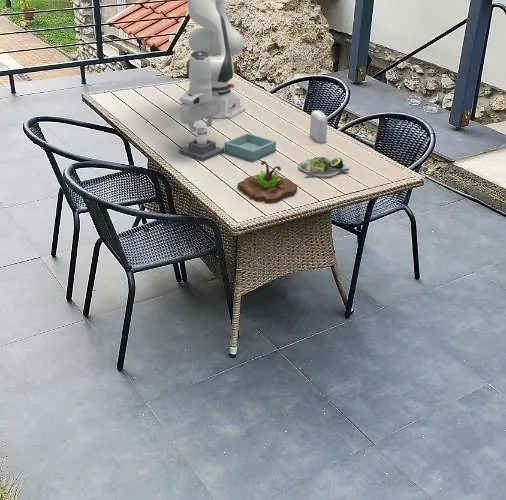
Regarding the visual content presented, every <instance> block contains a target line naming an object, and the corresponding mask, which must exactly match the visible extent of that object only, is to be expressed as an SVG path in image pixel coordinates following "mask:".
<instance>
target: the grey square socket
mask: <svg viewBox="0 0 506 500" xmlns="http://www.w3.org/2000/svg"><path fill="white" fill-rule="evenodd" d="M216 144H217V142H216V141H213V140H211V139H207V144H206V145H203V146H201V145H198V144H197V138H196V139H194V140H192V141H191V140H190V141H189V142H187V146H185V147H183V148H180V149H179V154H180V155H184V156H187V157H189V158H192V159H195V160H198V161H201V162H205V161H207V160H209V159H212V158H214V157H216V156H219V155H221V154H223V153H224V154H225V148H223V147H220V146H217V145H216Z"/></svg>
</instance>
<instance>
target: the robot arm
mask: <svg viewBox="0 0 506 500" xmlns="http://www.w3.org/2000/svg"><path fill="white" fill-rule="evenodd" d="M187 10H188V16H189V18H190V19H191V20H192V22H193V23H195V24H196V25H198V26H199V27H197V28H194V29H192V30H191V31H190V33H189V35H188V45H189V46H190V49H191V50H192V51H193V52H192V53H190V56H189V59H188V60H187V62H186V63H185V64H186V76H187V78H188V79H189V86H188V90H187V91H186V92H185V93H183V95H181V96H180V97H179V101H180V106H179V120H180V121H181V123H183V124H187V125H188V127H189V131H190V133H195V132H197V128H196V127H195V126H194V125H195V122H197V121H200V120H203V119H206V118H207V121H206V122H205V125H206V127H207V128H208V127H211V126H212V125H213V123H212V122H213V120H214V119H232V118H234V117H236V116H238V115H239V114H241V113H242V112H245V110H246V107H244V105H241V100H240V97H239V96H238V95H236V93H234V92H232V90H231V89H235V83H229V81H230V80H232V78H234V74H235V67H234V62H233V59H232V56H238V55H240V54H241V52H242V51H243V49H244V46H245V41H244V38H243V35H242V34H241V33H240V32H239V31H238V30H236V28H234V26H233V25H232V23H231V22H230V20H229V17H228V16H227V9H226V1H225V0H187Z"/></svg>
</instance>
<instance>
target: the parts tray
mask: <svg viewBox="0 0 506 500" xmlns="http://www.w3.org/2000/svg"><path fill="white" fill-rule="evenodd" d="M276 146H277V141H275V140H273V139H269V138H265V137H262V136H259V135H255V134H253V133H249V132H247V133H245V134H242V135H239V136H237V137H235V138H232V139H229V140H228V141H225V142H224V154H227V155H228V156H229V155H230V156H233V157H236V158H239V159H242V160H246V161H247V162H251V163H254V162H256V161H259V160H261V159H263V158H266V157H268V156H269V155H273V154H274V153H276V152H277V151H276V150H277V149H276V148H277V147H276Z"/></svg>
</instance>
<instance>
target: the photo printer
mask: <svg viewBox="0 0 506 500" xmlns="http://www.w3.org/2000/svg"><path fill="white" fill-rule="evenodd" d="M309 124H310V125H309V126H310V127H309V137H311V138H312V139H313V140H315V141H316V142H317V143H320V144H324V143H326V142H327V133H328V132H327V131H328V117H327V116H326V115H325V113H324V112H323V111H321V110H317V109H316V110H312V112H311V113H310V123H309Z"/></svg>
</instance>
